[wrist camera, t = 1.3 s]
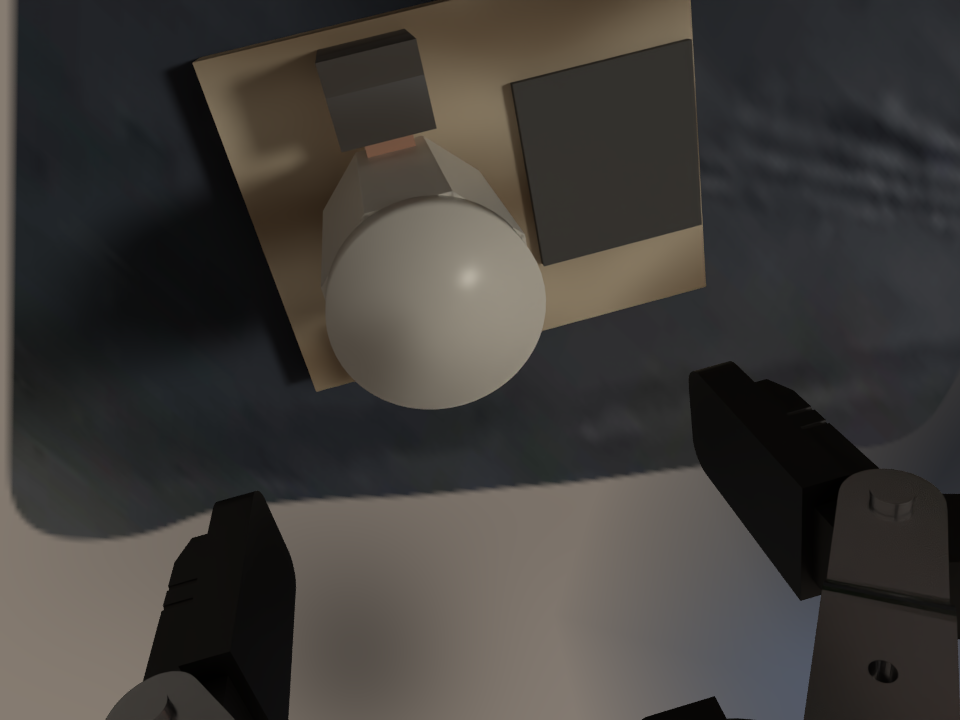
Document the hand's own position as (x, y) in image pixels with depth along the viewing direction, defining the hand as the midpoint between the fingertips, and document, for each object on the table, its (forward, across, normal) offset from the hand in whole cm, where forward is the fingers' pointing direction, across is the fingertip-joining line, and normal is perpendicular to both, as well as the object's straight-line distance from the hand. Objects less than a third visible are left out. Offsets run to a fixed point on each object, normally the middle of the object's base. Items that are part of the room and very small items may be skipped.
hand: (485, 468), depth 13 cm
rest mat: (+16, -8, 0) cm, 18 cm away
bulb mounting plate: (+18, -3, 0) cm, 18 cm away
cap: (+15, 0, 0) cm, 15 cm away
